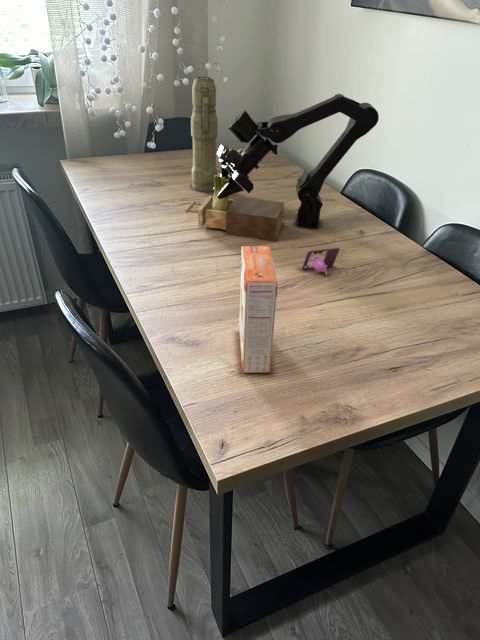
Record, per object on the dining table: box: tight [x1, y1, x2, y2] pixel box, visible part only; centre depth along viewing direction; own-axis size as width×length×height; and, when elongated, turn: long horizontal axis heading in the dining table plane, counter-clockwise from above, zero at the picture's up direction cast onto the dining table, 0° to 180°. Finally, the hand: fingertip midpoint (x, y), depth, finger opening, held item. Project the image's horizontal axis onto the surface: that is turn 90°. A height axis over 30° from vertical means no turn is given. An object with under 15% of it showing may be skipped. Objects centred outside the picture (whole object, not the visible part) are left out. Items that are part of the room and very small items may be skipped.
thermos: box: [190, 76, 219, 193], centre depth 171 cm, size 9×12×35 cm
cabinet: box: [225, 195, 285, 242], centre depth 153 cm, size 15×13×7 cm
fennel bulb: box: [212, 174, 230, 212], centre depth 151 cm, size 6×5×12 cm
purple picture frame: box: [301, 247, 340, 276], centre depth 133 cm, size 7×5×9 cm
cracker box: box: [238, 245, 279, 374], centre depth 98 cm, size 14×6×21 cm, turn 5°
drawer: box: [184, 195, 234, 231], centre depth 154 cm, size 19×12×6 cm, turn 79°
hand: (215, 194), depth 150 cm, fingers closed on fennel bulb, 5 cm apart
